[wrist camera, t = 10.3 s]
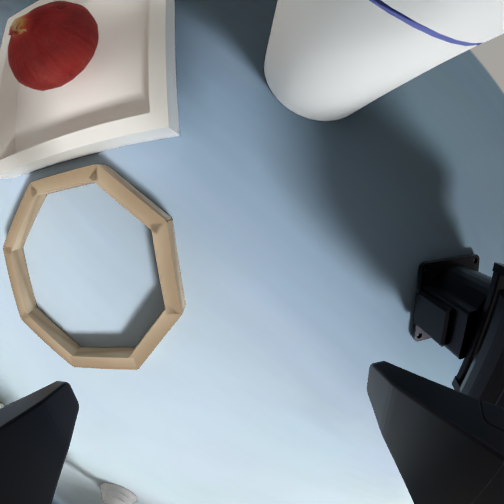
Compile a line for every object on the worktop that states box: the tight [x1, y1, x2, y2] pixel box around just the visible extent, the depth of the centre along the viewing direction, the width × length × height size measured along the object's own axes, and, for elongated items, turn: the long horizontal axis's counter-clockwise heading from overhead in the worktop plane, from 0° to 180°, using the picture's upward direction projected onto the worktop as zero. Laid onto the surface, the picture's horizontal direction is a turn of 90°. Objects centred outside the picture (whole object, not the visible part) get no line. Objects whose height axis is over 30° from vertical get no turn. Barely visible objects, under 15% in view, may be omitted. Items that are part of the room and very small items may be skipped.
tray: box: [0, 0, 180, 178], centre depth 14 cm, size 14×14×3 cm
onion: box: [8, 1, 99, 91], centre depth 11 cm, size 6×6×8 cm
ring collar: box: [3, 164, 186, 370], centre depth 18 cm, size 14×14×2 cm
